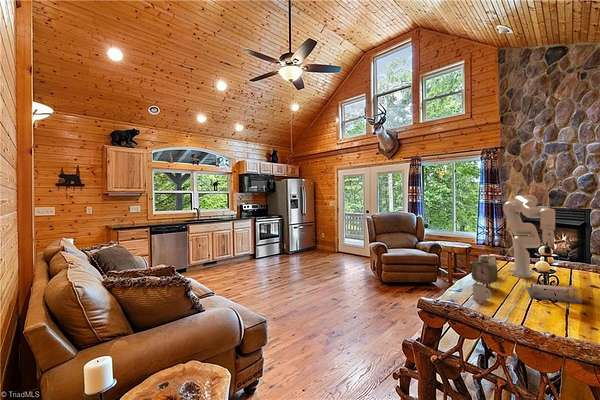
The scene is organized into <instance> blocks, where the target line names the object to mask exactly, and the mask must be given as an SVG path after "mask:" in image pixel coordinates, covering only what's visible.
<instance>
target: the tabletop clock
mask: <svg viewBox="0 0 600 400" xmlns="http://www.w3.org/2000/svg"><path fill="white" fill-rule="evenodd" d="M482 254H485V255H488V257H489V255H490V254H489V253H487V252H485V251H480V252H479V253H478V256H479V255H480V256H481V255H482ZM481 257H482V256H481ZM488 257H485V256H483V257H482V259H481V260H480V261H479V260H478V261H477V260H476V261H474V262H473V261H472V262H471V267H470V272H471V278H472V280H474V281H475V282H474V283H473V284H478V283H479V284H483V285H485V286H486V287H488V286H489V287H488V289H489V290H492V289H493V288H492V287H491V284H494V283H497V281H498V278H499V276H498V274H499V271H498V265H497V263H496V264H494V263H491V262H488V260H487V259H486V258H488Z"/></svg>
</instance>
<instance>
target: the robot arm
mask: <svg viewBox="0 0 600 400" xmlns="http://www.w3.org/2000/svg"><path fill="white" fill-rule="evenodd" d="M537 205H538V198H537V197H536V196H535V195H533V194H527V195H525V194H524V195H517V196H515V197H514V199H513V201H506V202H505V203H504V204H503V205H502V210H503V213H504V215H505V217H506V219H507V221H508V224H509V227H510V231H511V233H512V234H513V235H515V236H513V238H512V240H511V241H512V245H513V253H514V254H513V255H514V268H513V269H510V268H509V269H507V272H509V273H512V275H513V276H515V277H516V278H523V279H526V278H528V279H529V278H533V277H534V275H533V274H531V259H530V252H529V251H528V250H527V249H533V248H534V249H537V248H539V247H540V246H541V240H540V236H539V233H538V230H537V227H536V225H534V224H533V223H532V222H523V221H522V218H521V216H520V215H518V214H517V213H519V212H521V213H522V214H521V215H523V216H525V217H526V218H529V219H540V220H539V221H540V222H539V223H540V224H539V225H540V227H539V228H540V230H542V234H541V235H542V238H541V239H542V242H543V245H544V248H543V254H545V255H551V254H552V249H551V248H552V247H551V246H552V245H555V232H554V231H555V230H556V210H555V209H554V208H550V207H547V206H542V207H540V206H539V207H536V206H537Z"/></svg>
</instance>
